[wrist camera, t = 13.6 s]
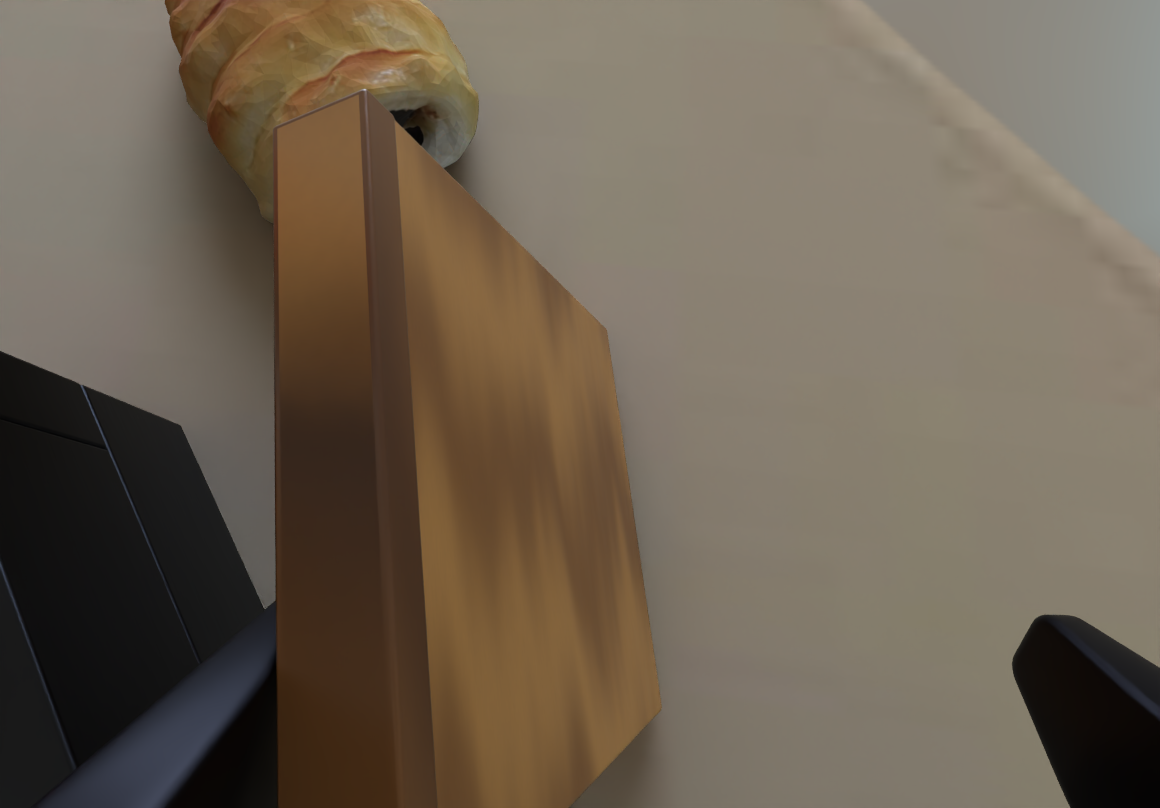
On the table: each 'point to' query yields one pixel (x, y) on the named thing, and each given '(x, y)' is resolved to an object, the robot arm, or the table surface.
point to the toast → (440, 494)
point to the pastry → (318, 73)
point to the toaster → (99, 573)
